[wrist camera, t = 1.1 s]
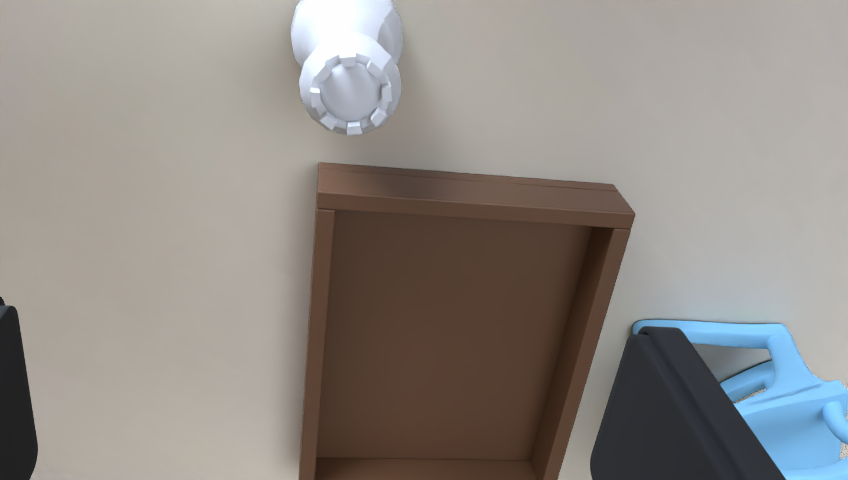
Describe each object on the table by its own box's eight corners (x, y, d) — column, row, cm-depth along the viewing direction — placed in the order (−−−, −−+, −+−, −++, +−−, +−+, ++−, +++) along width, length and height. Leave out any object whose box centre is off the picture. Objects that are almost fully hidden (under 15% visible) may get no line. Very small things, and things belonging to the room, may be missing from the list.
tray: (318, 161, 33) (317, 191, 30) (613, 183, 35) (636, 213, 32) (299, 456, 41) (297, 499, 38) (538, 460, 43) (551, 501, 40)
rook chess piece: (355, -51, 28) (363, -8, 22) (424, 43, 30) (451, 108, 24) (267, 22, 29) (246, 84, 22) (339, 107, 31) (341, 189, 24)
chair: (779, 397, 43) (923, 584, 32) (637, 428, 43) (735, 625, 32) (787, 287, 39) (953, 459, 28) (630, 321, 39) (740, 506, 28)
